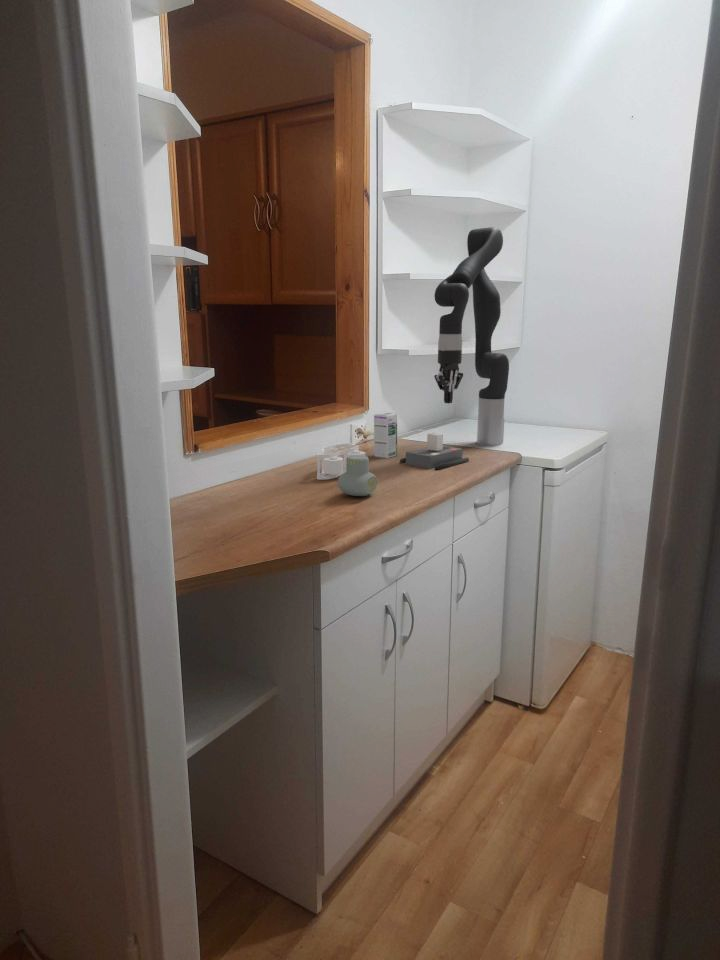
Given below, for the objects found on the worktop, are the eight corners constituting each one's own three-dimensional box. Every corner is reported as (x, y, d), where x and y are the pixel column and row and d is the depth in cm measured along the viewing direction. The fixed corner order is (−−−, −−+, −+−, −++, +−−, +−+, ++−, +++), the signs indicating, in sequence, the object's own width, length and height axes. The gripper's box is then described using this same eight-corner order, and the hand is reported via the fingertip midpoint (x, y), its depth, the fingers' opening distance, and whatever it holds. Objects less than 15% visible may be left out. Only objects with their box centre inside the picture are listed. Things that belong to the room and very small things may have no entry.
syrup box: (387, 458, 225) (388, 415, 221) (373, 456, 228) (373, 413, 225) (397, 456, 229) (398, 413, 226) (383, 453, 233) (383, 411, 229)
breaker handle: (432, 447, 220) (433, 432, 219) (442, 449, 218) (443, 434, 217) (426, 449, 218) (427, 433, 217) (436, 450, 216) (437, 435, 214)
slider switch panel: (431, 455, 230) (431, 451, 230) (469, 461, 220) (469, 457, 220) (398, 463, 218) (398, 458, 218) (437, 470, 208) (437, 466, 207)
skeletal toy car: (331, 481, 194) (331, 456, 192) (302, 476, 200) (302, 452, 199) (372, 469, 210) (372, 446, 208) (343, 464, 216) (343, 442, 214)
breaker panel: (437, 456, 228) (438, 444, 227) (462, 460, 222) (462, 448, 221) (405, 464, 216) (405, 451, 215) (430, 469, 210) (430, 456, 209)
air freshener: (353, 487, 187) (353, 452, 185) (380, 490, 184) (380, 454, 181) (334, 496, 178) (333, 459, 176) (362, 500, 174) (362, 462, 172)
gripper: (452, 347, 222) (450, 400, 226) (427, 348, 213) (426, 403, 217) (471, 348, 217) (469, 402, 221) (447, 349, 208) (445, 406, 212)
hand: (448, 403), depth 219 cm, fingers closed
